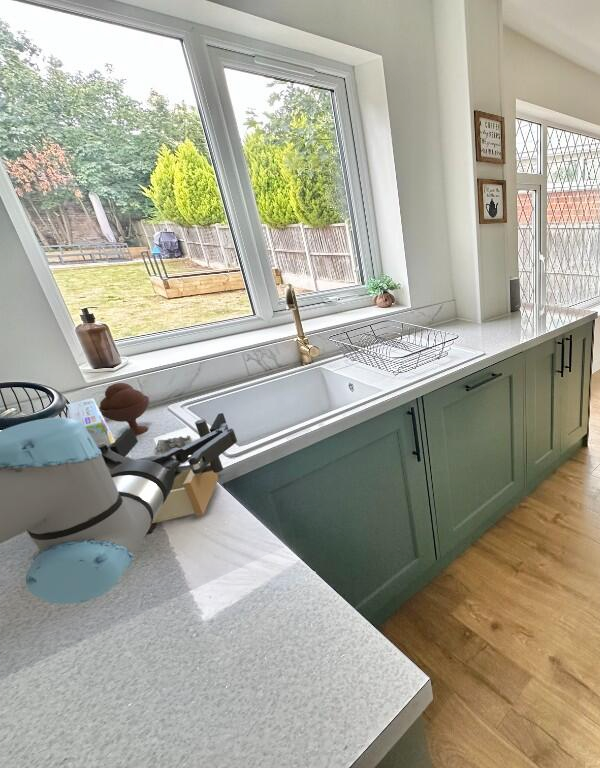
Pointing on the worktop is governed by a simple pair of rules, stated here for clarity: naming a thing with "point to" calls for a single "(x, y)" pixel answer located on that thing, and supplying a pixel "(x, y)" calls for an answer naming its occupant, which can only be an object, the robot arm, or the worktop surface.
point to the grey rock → (171, 445)
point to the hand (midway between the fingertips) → (179, 427)
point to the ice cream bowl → (124, 405)
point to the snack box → (91, 421)
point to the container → (191, 488)
